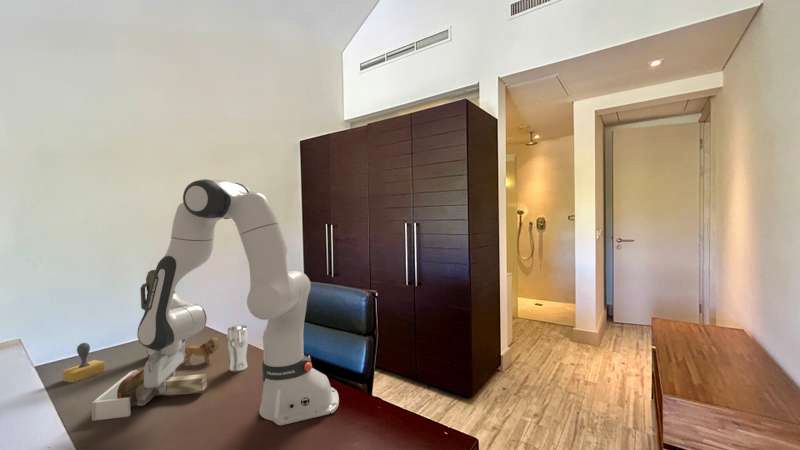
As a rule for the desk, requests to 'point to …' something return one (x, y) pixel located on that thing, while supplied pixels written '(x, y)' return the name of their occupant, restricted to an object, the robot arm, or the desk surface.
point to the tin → (131, 386)
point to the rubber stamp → (83, 366)
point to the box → (111, 403)
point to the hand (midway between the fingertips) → (166, 388)
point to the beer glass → (237, 347)
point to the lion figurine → (202, 350)
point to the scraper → (173, 387)
